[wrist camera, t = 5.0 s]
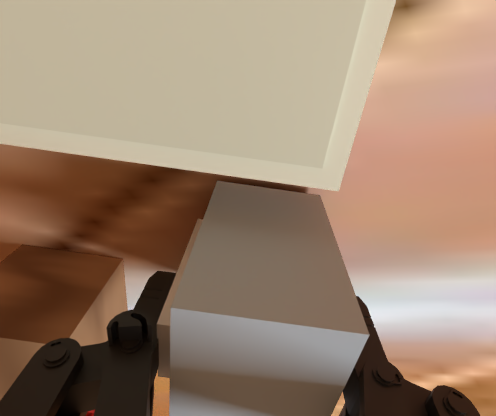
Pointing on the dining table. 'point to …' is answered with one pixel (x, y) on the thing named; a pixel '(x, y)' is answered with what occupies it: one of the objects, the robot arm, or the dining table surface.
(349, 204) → the dining table surface
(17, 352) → the block
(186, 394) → the block
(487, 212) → the dining table surface
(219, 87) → the plinth
